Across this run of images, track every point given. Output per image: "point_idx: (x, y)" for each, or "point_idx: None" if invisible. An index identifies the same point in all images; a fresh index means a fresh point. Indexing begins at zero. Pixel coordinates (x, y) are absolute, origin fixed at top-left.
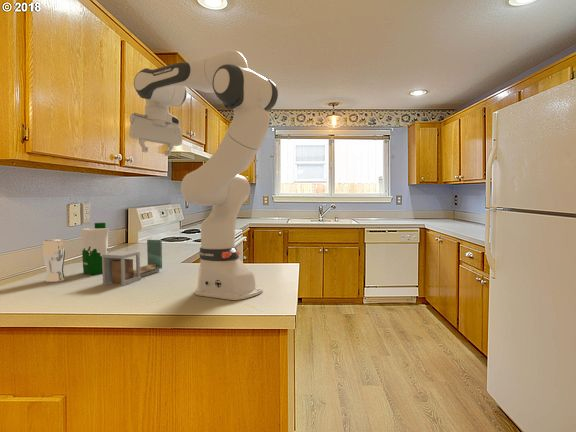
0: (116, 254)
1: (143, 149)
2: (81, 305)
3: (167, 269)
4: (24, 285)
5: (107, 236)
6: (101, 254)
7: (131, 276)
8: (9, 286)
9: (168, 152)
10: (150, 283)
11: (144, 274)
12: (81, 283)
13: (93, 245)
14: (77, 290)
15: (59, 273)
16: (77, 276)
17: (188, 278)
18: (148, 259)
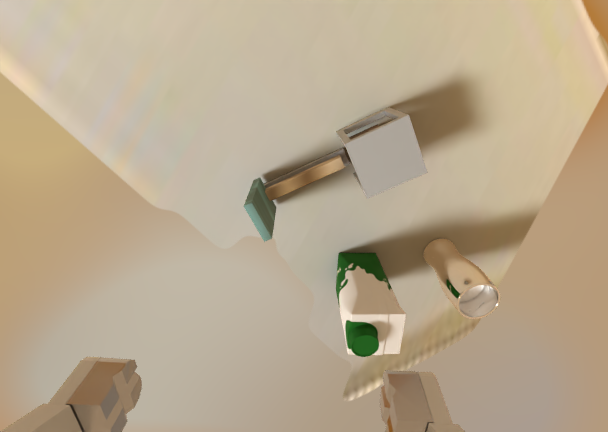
0: (406, 147)
1: (436, 401)
2: (526, 9)
3: (233, 190)
4: (488, 251)
5: (350, 302)
6: (362, 271)
7: (355, 137)
8: (504, 261)
9: (96, 383)
10: (339, 80)
11: (307, 164)
12: (424, 194)
13: (384, 287)
14: (461, 140)
15: (444, 247)
16: (396, 259)
17: (249, 55)
18: (273, 213)
